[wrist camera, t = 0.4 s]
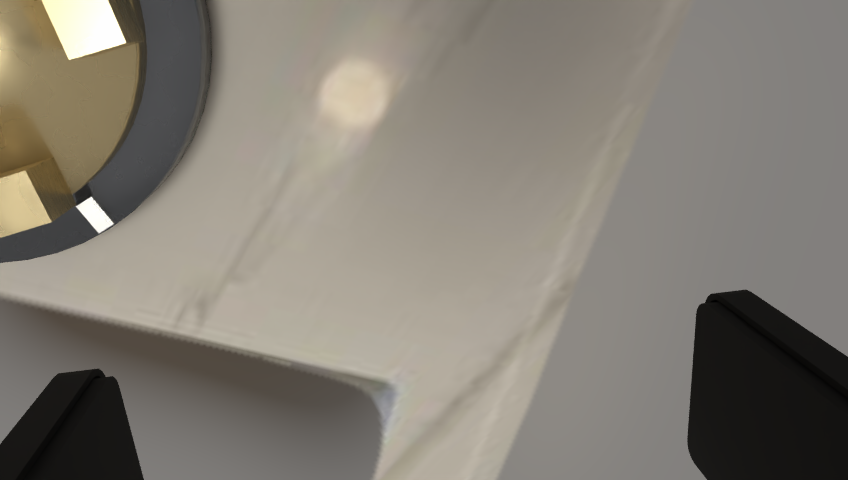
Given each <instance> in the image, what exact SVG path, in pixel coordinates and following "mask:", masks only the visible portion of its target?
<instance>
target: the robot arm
mask: <svg viewBox="0 0 848 480" xmlns="http://www.w3.org/2000/svg"><path fill="white" fill-rule="evenodd" d="M689 411H690V412H689V424H688V449H689V452H690V456H691V458H692V460H693V461H694V463H695V465H696V466H697V467H698V469H699V470H700V471H701V472H702V474H703V475H704V476H705V477H706V479H707V480H848V357H847V356H846V355H844V354H843V353H841V352H840V351H838V350H837V349H835V348H834V347H832V346H831V345H829V344H828V343H826V342H825V341H823V340H822V339H820V338H819V337H817V336H816V335H814V334H813V333H811V332H810V331H808V330H807V329H805V328H804V327H802V326H801V325H800V324H798V323H797V322H795V321H794V320H792V319H790V318H789V317H788V316H786V315H785V314H783V313H782V312H780V311H779V310H777V309H776V308H774V307H773V306H771V305H770V304H768V303H767V302H765V301H764V300H762V299H761V298H759V297H758V296H756V295H755V294H753V293H752V292H750V291H748V290H739V291H732V292H723V293H716V294H710V295H709V296H708V297H707V300H706V302H705V303H703V304H701V305H699V307H698V309H697V314H696V326H695V340H694V354H693V369H692V383H691V396H690V410H689ZM0 480H144V479H143V475H142V471H141V467H140V464H139V460H138V456H137V453H136V449H135V445H134V441H133V437H132V433H131V430H130V426H129V422H128V418H127V415H126V411H125V407H124V403H123V399H122V396H121V392H120V388H119V385H118V382H117V380H116V379H115V378H114V377H113V376H112V377H105V375H104V373H103V372H102V371H101V370H99V369H92V370H84V371H76V372H67V373H59V374H57V375H56V376H55V377H54V378H53V379H52V380H51V382H50V383H49V384H48V385H47V387H46V388H45V389H44V390H43V392H42V393H41V394H40V395H39V397H38V398H37V399H36V400H35V402H34V403H33V404H32V405H31V407H30V408H29V409H28V410H27V412H26V413H25V414H24V415H23V417H22V418H21V419H20V420H19V421H18V423H17V424H16V425H15V427H14V428H13V429H12V430H11V431H10V433H9V434H8V435H7V437H6V438H5V439H4V440H3V441H2V443H1V444H0Z"/></svg>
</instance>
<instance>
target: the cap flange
mask: <svg viewBox="0 0 848 480" xmlns="http://www.w3.org/2000/svg"><path fill="white" fill-rule="evenodd" d="M140 4H141V9H142V14H143V19H144V23H145V31H146V44H147V66H146V80H145V85H144V90H143V95H142V101H141V104H140V107H139V110H138V113H137V116H136V118H135V121H134V124H133V126H132V128H131V130H130V132H129V134H128V136H127V138H126V139H125V141H124V143H123V145H122V146H121V148H120V149H119V150H118V152H117V153H116V155H115V156H114V157H113V159H112V160H111V161H110V163H109V164H108V165H107V166H106V167H105V168H104V169H103V170H102V171H101V172H100V173H99V174H98V175H97V176H96V177H95V178H94V179H93V180H92V181H90V182H89V183H88V184H86V185H85V186H84V187H82V188H81V189H80V190H78V191H77V192H76V193H74V194H72V195H73V197H74V200H75V202H76V204H77V205H76V206H74V207H73V208H71V209H70V210H68V211H67V212H66V213H64V214H63V215H61V216H60V217H58V218H57V219H56V220H54V221H53V222H51V223H47V224H44V225H41V226H38V227H34V228H31V229H28V230H24V231H21V232H18V233H15V234H11V235H8V236H5V237H2V238H0V263H3V262H12V261H21V260H29V259H33V258H37V257H42V256H46V255H50V254H54V253H58V252H61V251H63V250H66V249H69V248H71V247H74V246H76V245H79V244H82V243H84V242H86V241H88V240H90V239H92V238H94V237H95V236H97V235H99V234H101V233H103V232H105V231H106V230H108V229H110V228H111V227H113V226H114V225H115V224H117V223H118V222H119V221H121V220H122V219H123V218H125V217H126V216H127V215H129V214H130V213H132V212H133V211H134V210H135V209H136V208H137V207H138V206H139V205H140V204H141V203H142V202H144V201H145V200H146V199H147V198H148V197H149V196H150V195H151V194H152V193H153V192H154V191H155V190H156V189H157V188H158V187H159V186H160V185H161V184H162V183H163V182H164V181H165V180H166V179H167V177H168V176H169V175H170V173H171V172H172V171H173V169H174V168H175V167H176V165H177V164H178V163H179V162H180V160H181V159H182V157H183V155H184V153H185V151H186V150H187V148H188V146H189V144H190V142H191V140H192V139H193V137H194V135H195V132H196V129H197V127H198V124H199V121H200V118H201V116H202V113H203V110H204V106H205V101H206V97H207V92H208V88H209V82H210V70H211V57H212V51H211V31H210V21H209V15H208V10H207V4H206V0H140Z"/></svg>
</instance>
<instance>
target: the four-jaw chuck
mask: <svg viewBox="0 0 848 480" xmlns="http://www.w3.org/2000/svg"><path fill="white" fill-rule="evenodd" d="M146 66H147V44H146V31H145V23H144V19H143V14H142V9H141V4H140V0H0V238H2V237H5V236H8V235H11V234H15V233H18V232H21V231H24V230H28V229H31V228H34V227H38V226H41V225H44V224H47V223H51V222H53V221H54V220H56V219H57V218H58V217H60V216H61V215H63V214H64V213H66V212H67V211H68V210H70V209H71V208H73V207H74V206H76V205H77V204H76V202H75V200H74V197H73V195H72V194H74V193H76V192H77V191H78V190H80V189H81V188H82V187H84V186H85V185H86V184H88V183H89V182H90V181H92V180H93V179H94V178H95V177H96V176H97V175H98V174H99V173H100V172H101V171H102V170H103V169H104V168H105V167H106V166H107V165H108V164H109V163H110V161H111V160H112V159H113V157H114V156H115V155H116V153H117V152H118V150H119V149H120V148H121V146H122V145H123V143H124V141H125V139H126V138H127V136H128V134H129V132H130V130H131V128H132V126H133V124H134V121H135V118H136V116H137V113H138V110H139V107H140V104H141V101H142V95H143V90H144V85H145V80H146Z"/></svg>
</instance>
